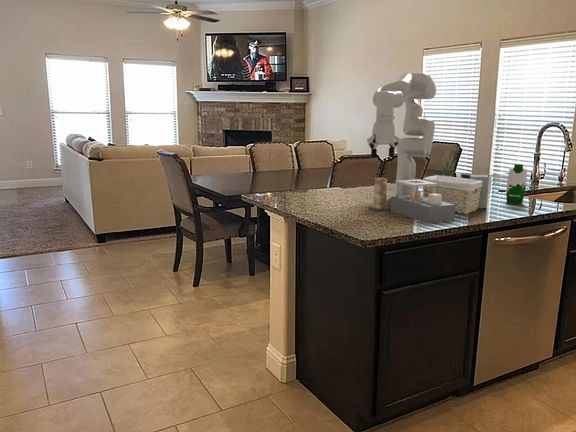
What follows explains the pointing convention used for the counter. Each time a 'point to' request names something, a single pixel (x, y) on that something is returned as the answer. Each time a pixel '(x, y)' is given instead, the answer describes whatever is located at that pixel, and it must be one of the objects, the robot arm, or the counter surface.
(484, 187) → the skincare box
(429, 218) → the grey housing
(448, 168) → the potted plant
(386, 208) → the pad
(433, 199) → the on button
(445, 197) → the storage basket
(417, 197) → the plunger
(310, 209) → the counter surface
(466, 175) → the supplement container
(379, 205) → the wooden rectangular block
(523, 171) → the milk carton
